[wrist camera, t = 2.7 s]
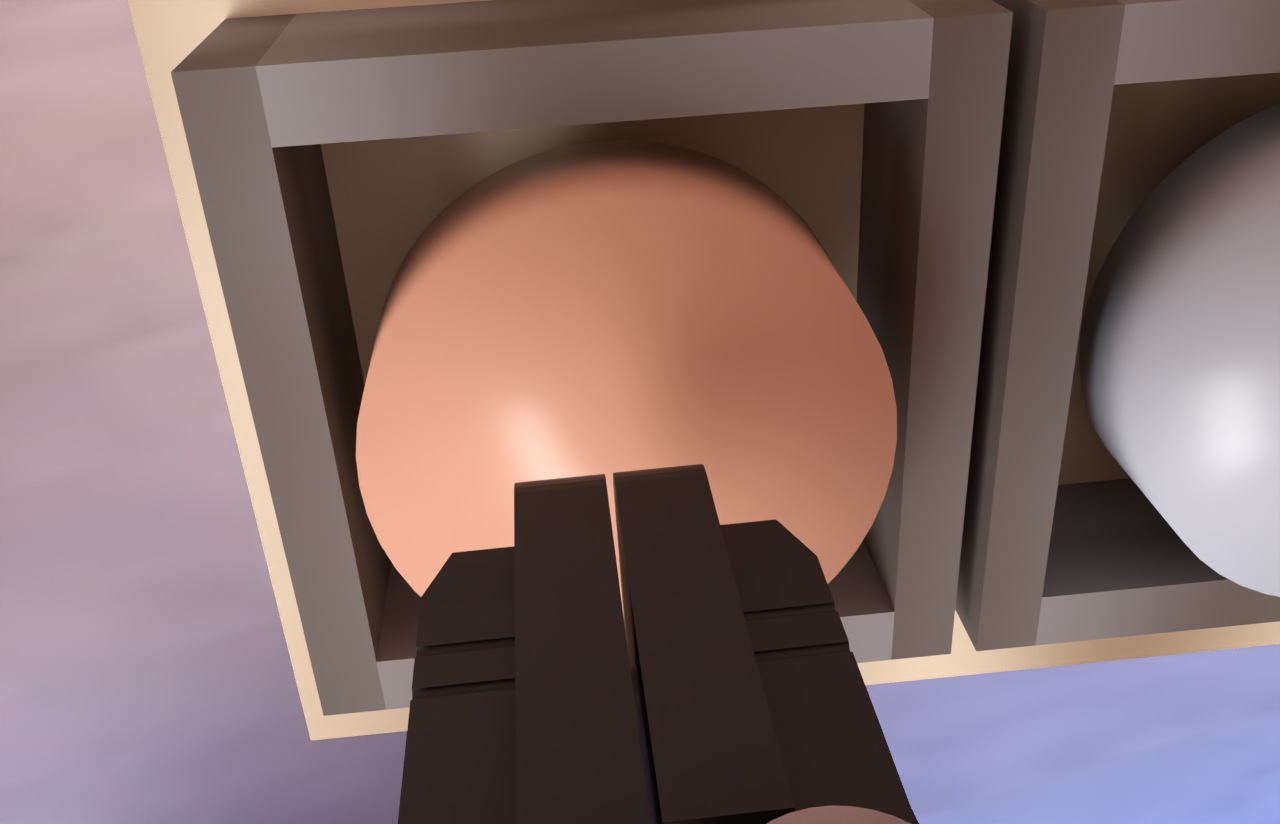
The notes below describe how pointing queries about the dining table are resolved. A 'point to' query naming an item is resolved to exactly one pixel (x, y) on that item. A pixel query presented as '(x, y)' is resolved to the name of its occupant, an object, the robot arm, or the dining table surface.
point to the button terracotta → (621, 356)
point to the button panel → (813, 186)
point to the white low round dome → (1199, 351)
